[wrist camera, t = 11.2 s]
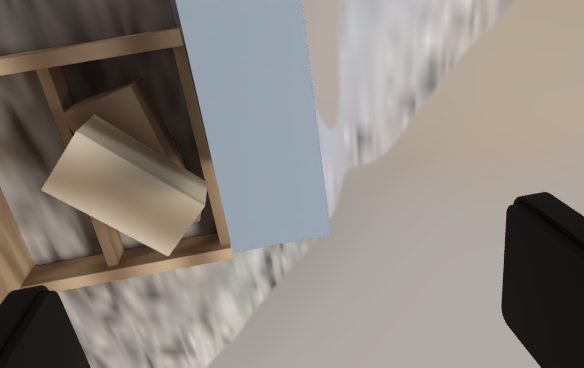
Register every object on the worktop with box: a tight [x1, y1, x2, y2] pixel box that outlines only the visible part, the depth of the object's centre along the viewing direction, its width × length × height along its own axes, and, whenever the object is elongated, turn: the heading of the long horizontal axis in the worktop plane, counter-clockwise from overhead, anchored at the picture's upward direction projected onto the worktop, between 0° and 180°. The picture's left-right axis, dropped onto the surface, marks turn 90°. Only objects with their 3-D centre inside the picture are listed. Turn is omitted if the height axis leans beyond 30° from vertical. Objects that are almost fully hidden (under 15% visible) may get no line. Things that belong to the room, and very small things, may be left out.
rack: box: [0, 27, 233, 304], centre depth 33 cm, size 18×18×8 cm
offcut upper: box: [41, 115, 208, 256], centre depth 32 cm, size 5×9×4 cm, turn 53°
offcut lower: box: [62, 76, 201, 244], centre depth 35 cm, size 5×11×4 cm, turn 20°
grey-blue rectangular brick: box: [176, 0, 331, 253], centre depth 28 cm, size 5×12×15 cm, turn 8°
